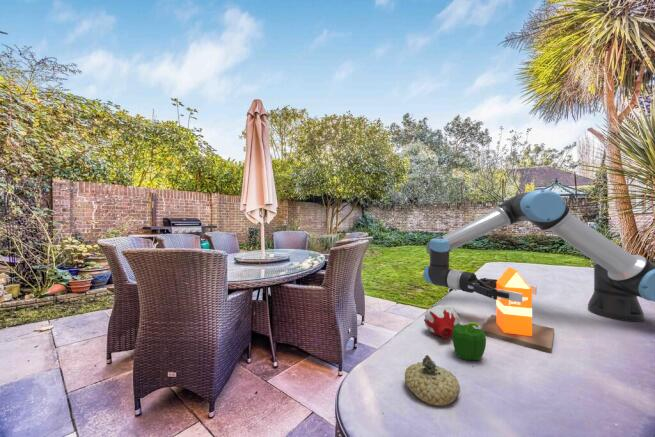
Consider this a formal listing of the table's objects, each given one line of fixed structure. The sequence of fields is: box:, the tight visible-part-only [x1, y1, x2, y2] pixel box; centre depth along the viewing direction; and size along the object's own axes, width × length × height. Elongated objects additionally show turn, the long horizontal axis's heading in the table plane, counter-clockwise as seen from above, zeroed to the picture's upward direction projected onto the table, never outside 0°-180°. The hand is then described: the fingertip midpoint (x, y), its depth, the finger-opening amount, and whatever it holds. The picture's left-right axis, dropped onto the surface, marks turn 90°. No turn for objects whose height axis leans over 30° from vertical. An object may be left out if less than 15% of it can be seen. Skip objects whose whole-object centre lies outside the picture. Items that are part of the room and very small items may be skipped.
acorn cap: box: [404, 354, 461, 407], centre depth 59 cm, size 10×11×10 cm
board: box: [480, 314, 555, 354], centre depth 87 cm, size 18×18×2 cm
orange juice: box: [495, 267, 533, 336], centre depth 87 cm, size 8×9×20 cm
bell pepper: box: [451, 321, 487, 361], centre depth 73 cm, size 8×8×10 cm
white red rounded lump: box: [423, 304, 461, 339], centre depth 86 cm, size 9×11×15 cm
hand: (529, 294), depth 84 cm, fingers open, 13 cm apart
